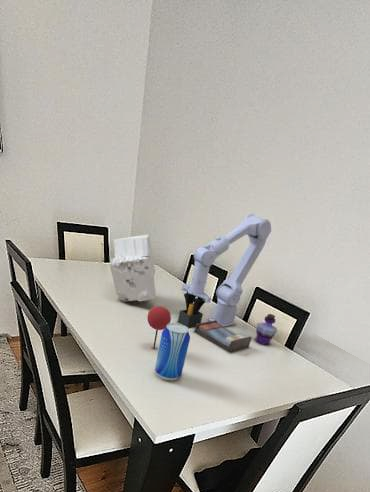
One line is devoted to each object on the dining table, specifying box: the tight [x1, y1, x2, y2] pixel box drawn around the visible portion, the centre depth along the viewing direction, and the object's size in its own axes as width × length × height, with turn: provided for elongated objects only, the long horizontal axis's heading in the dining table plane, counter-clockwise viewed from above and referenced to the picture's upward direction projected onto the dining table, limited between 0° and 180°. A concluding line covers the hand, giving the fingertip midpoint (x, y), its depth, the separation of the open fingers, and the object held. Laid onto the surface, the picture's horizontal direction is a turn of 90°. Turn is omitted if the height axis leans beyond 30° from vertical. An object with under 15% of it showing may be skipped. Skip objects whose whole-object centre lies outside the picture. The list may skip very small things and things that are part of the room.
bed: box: [194, 320, 252, 354], centre depth 151 cm, size 12×19×4 cm, turn 44°
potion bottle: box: [255, 313, 279, 346], centre depth 156 cm, size 9×9×12 cm
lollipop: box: [146, 305, 172, 350], centre depth 129 cm, size 8×8×15 cm
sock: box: [187, 302, 194, 315], centre depth 156 cm, size 3×3×5 cm
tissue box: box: [109, 233, 157, 303], centre depth 163 cm, size 20×16×25 cm
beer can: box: [154, 322, 191, 382], centre depth 115 cm, size 8×8×16 cm
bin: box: [177, 309, 204, 328], centre depth 158 cm, size 8×6×5 cm
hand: (191, 313), depth 157 cm, fingers closed on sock, 3 cm apart
